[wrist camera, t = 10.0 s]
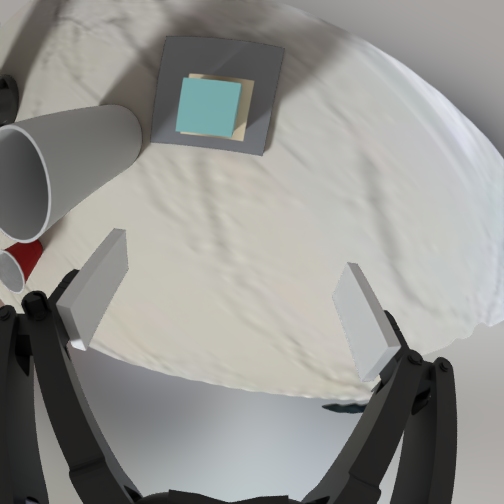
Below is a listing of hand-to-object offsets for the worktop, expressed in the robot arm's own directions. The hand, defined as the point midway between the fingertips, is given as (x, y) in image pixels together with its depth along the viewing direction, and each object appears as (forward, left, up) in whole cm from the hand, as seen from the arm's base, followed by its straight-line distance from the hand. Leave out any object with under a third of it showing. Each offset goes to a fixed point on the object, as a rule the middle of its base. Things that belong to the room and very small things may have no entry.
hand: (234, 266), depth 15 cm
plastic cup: (-47, -24, -31) cm, 61 cm away
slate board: (-6, +10, -31) cm, 33 cm away
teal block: (-4, +8, -17) cm, 19 cm away
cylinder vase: (-23, +1, -31) cm, 39 cm away
